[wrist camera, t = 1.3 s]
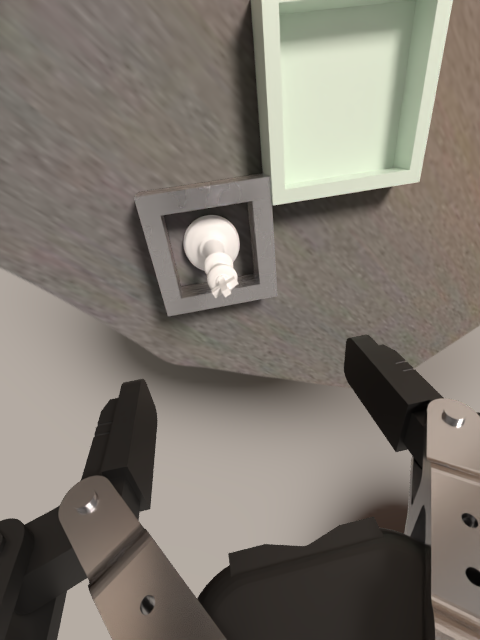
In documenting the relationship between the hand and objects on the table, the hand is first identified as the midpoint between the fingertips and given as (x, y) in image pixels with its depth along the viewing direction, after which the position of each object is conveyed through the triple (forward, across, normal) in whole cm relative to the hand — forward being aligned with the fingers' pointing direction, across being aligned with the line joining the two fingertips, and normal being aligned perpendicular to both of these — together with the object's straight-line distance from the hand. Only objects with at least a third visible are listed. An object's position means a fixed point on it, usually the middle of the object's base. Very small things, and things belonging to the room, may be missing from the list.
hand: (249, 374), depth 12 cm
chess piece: (+18, 0, 0) cm, 18 cm away
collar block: (+17, 0, 0) cm, 17 cm away
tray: (+17, -11, -9) cm, 23 cm away
